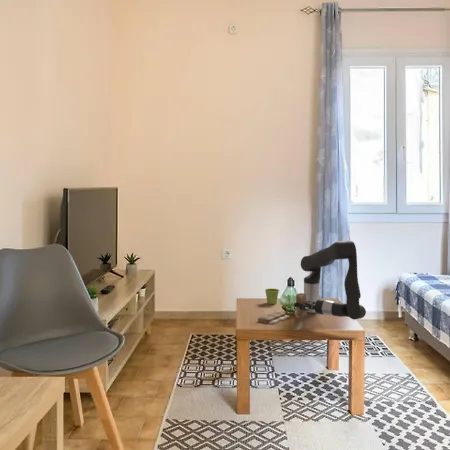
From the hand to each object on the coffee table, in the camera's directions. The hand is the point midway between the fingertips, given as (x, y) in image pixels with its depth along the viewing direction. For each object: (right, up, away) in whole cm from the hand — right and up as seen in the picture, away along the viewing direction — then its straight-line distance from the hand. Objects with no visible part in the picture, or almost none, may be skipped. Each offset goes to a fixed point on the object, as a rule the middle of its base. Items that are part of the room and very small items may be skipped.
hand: (296, 303), depth 255 cm
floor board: (-11, -10, +10) cm, 18 cm away
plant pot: (-9, -8, +49) cm, 50 cm away
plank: (+2, -7, -1) cm, 7 cm away
